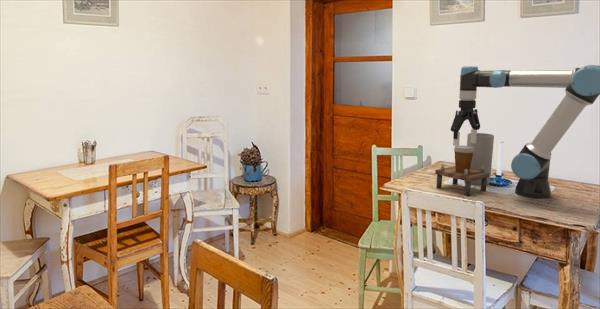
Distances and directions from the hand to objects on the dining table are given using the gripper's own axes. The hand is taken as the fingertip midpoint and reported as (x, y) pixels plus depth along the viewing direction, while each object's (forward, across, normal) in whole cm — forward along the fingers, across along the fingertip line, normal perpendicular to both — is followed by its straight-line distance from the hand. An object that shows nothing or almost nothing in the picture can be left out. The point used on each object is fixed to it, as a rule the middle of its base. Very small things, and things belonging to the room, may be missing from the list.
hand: (464, 144), depth 226 cm
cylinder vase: (+22, -18, -4) cm, 29 cm away
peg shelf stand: (+22, 0, 0) cm, 22 cm away
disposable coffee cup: (+14, 0, 0) cm, 14 cm away
